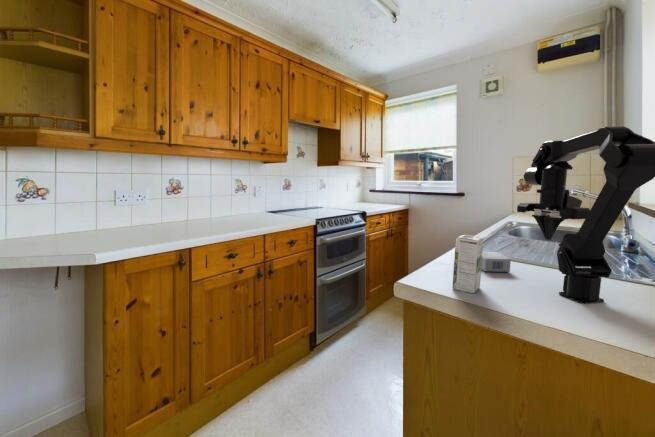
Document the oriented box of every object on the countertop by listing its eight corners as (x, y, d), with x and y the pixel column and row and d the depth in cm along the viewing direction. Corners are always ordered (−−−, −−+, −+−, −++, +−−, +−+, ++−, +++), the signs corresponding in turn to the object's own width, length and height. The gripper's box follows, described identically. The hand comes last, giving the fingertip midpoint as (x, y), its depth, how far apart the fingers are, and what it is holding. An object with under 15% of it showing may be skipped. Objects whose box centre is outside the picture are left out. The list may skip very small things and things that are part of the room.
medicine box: (510, 272, 96) (497, 264, 105) (511, 258, 96) (498, 252, 104) (484, 271, 97) (474, 264, 106) (485, 258, 96) (474, 251, 105)
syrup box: (458, 283, 87) (460, 233, 85) (480, 288, 83) (484, 236, 82) (452, 289, 83) (454, 237, 81) (475, 294, 79) (478, 239, 77)
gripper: (611, 186, 79) (604, 245, 81) (547, 184, 97) (543, 232, 100) (576, 187, 77) (570, 247, 79) (517, 185, 95) (513, 234, 97)
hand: (548, 239), depth 89 cm, fingers closed
